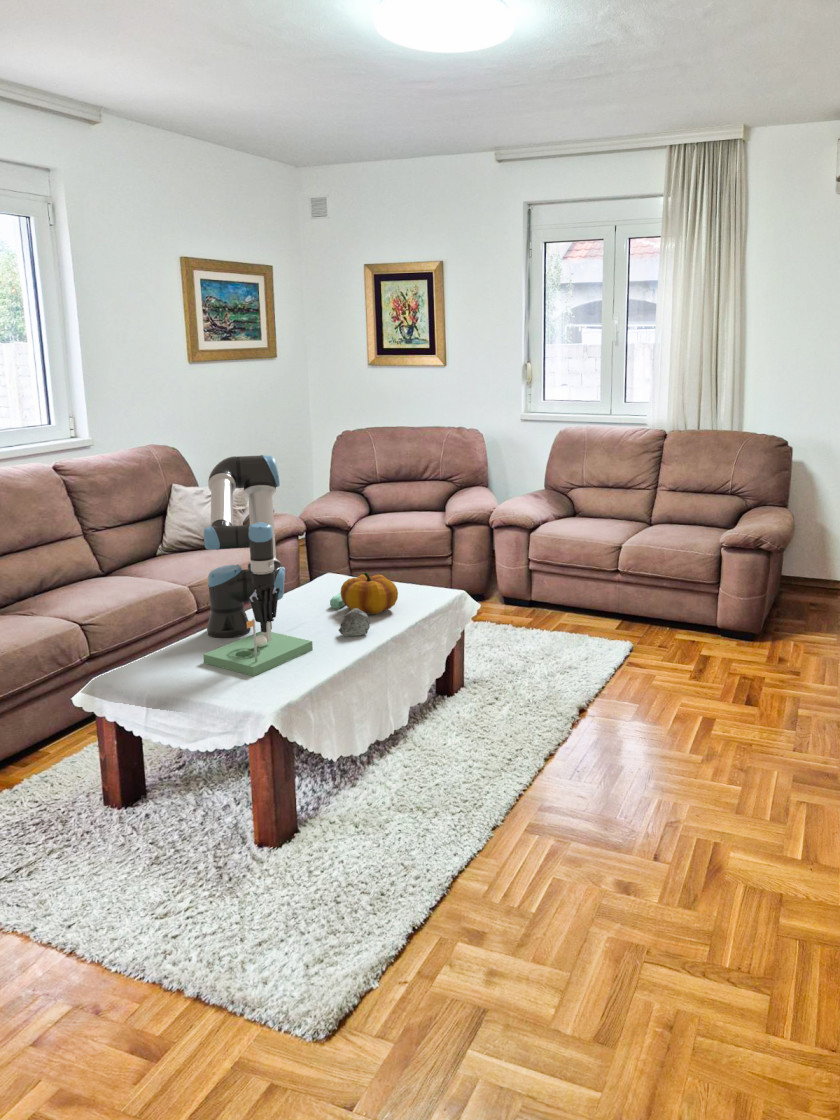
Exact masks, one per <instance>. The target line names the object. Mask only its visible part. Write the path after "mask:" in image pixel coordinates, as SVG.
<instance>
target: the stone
mask: <svg viewBox="0 0 840 1120" xmlns="http://www.w3.org/2000/svg"><path fill="white" fill-rule="evenodd" d="M369 629H370V619H369V615H368V613H365V612H363V611H361V610H360V609H358V608H354V609H353V610H351V609H350V611H348V612H347V613H346V614H345V615H344V616H343V618H342V619H341V622H340V628H338V632H339V633H340V635H341V636H344V637H354V636H356V637H357V636H363V635H367V634H368V631H369Z"/></svg>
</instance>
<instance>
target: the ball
mask: <svg viewBox="0 0 840 1120" xmlns="http://www.w3.org/2000/svg"><path fill="white" fill-rule="evenodd" d="M266 644H267V638H266V637H265V636H263V635H259V636H257V637H256V645H257V646H258V647H264V646H265V645H266Z"/></svg>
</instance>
